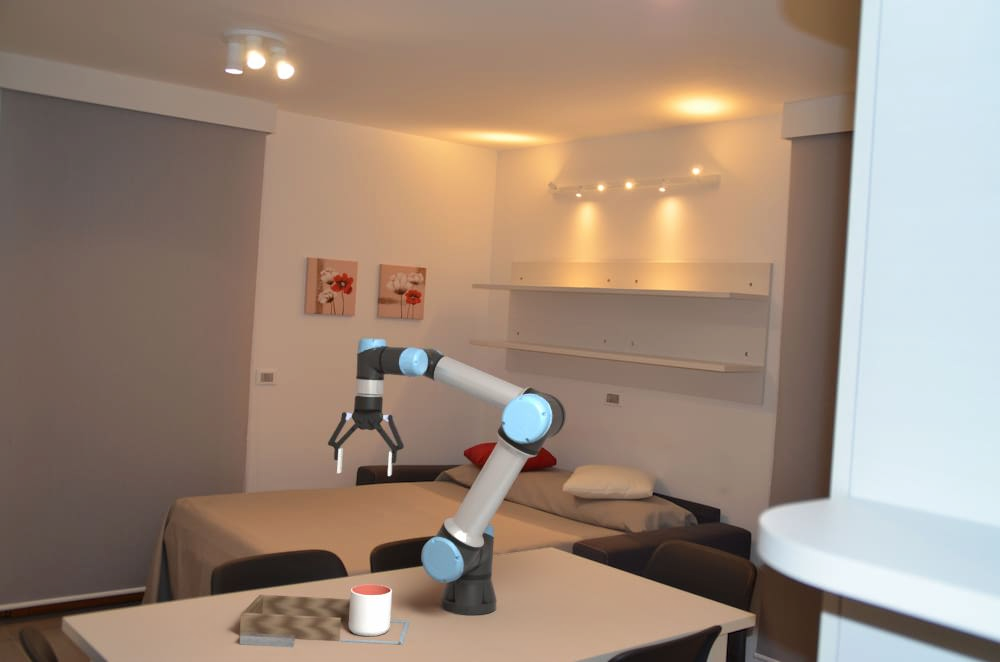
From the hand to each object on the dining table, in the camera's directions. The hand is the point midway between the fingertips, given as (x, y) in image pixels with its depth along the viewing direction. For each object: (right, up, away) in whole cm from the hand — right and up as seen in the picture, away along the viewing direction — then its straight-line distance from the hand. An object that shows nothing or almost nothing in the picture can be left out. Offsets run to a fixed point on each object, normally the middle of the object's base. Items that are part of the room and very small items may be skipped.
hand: (364, 474), depth 234 cm
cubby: (-13, -34, -23) cm, 43 cm away
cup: (+5, -35, -23) cm, 42 cm away
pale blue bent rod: (+6, -35, -23) cm, 42 cm away
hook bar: (-17, -33, -36) cm, 52 cm away
